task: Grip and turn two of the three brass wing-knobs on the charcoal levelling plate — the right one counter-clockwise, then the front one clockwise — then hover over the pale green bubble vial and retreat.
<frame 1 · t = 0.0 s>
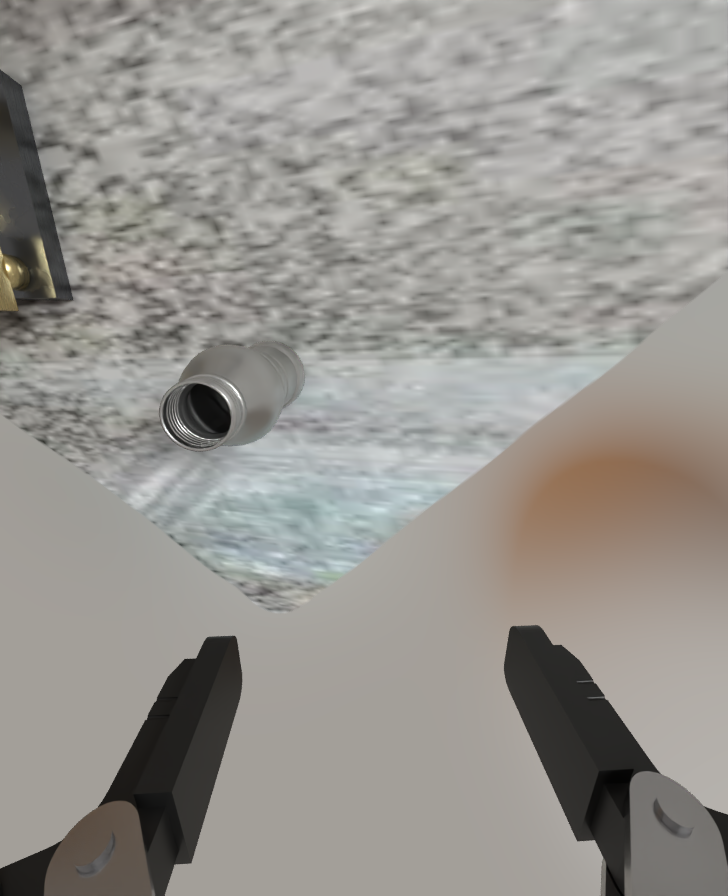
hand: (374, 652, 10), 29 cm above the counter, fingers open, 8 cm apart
plastic bottle: (276, 373, 36), on the counter
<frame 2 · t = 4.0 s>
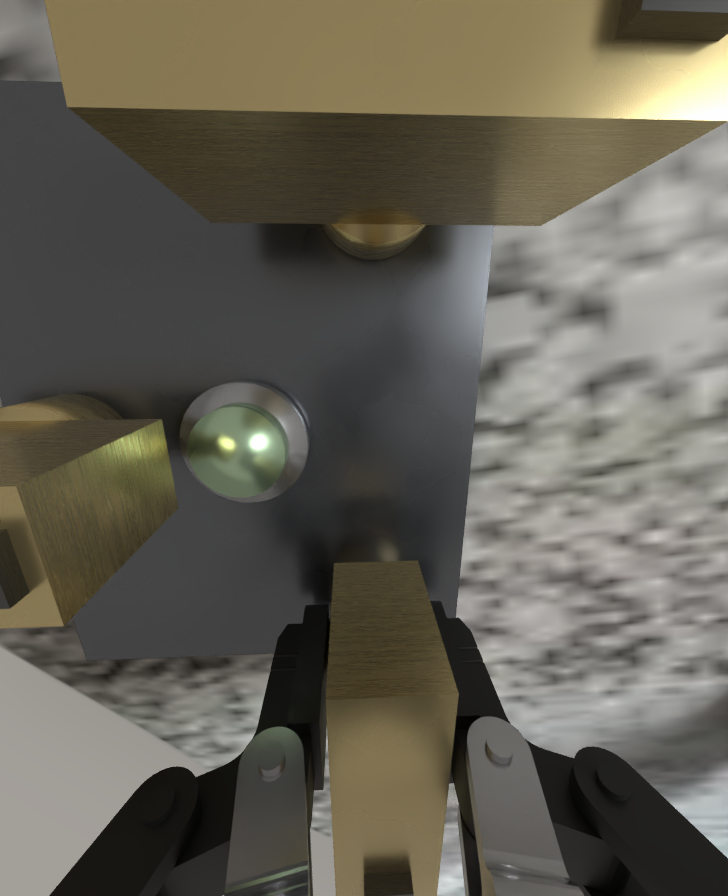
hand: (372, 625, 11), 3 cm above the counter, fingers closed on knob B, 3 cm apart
knob B: (378, 690, 9), point 5 cm above the counter, hinge at 0.0°, touching gripper
levelling plate: (265, 422, 12), on the counter
knob A: (385, 123, 5), point 5 cm above the counter, hinge at 0.0°
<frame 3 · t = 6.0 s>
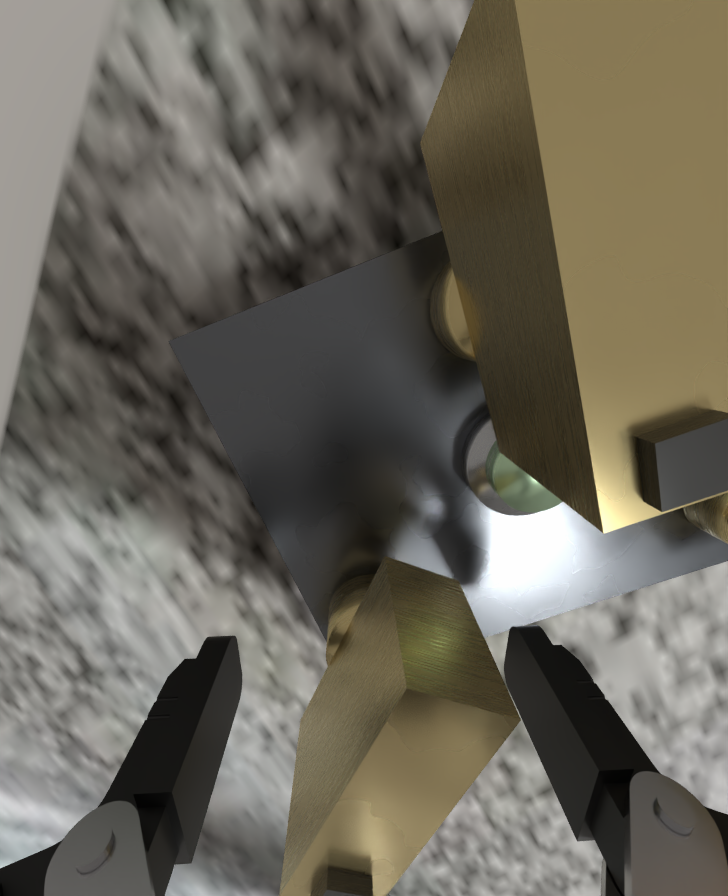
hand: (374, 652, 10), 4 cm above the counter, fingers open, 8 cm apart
knob B: (377, 689, 9), point 5 cm above the counter, hinge at 46.7°
knob C: (541, 293, 6), point 5 cm above the counter, hinge at 0.0°
levelling plate: (491, 437, 13), on the counter
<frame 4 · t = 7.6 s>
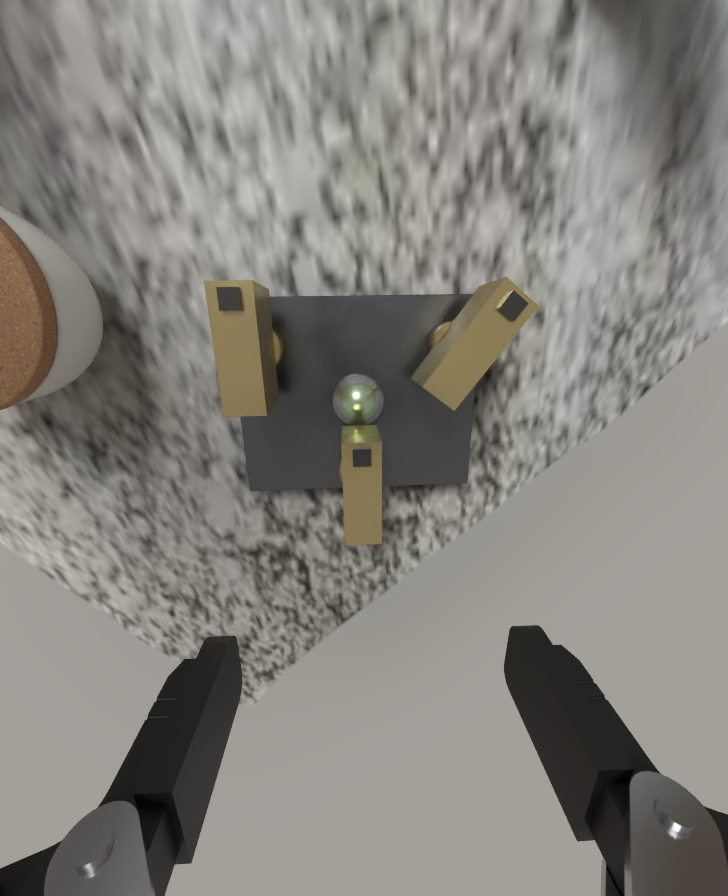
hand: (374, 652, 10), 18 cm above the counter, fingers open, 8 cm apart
knob B: (462, 345, 20), point 5 cm above the counter, hinge at 53.1°
lidded jar: (54, 311, 23), on the counter
knob C: (360, 478, 22), point 5 cm above the counter, hinge at 0.0°
levelling plate: (357, 394, 26), on the counter
knob A: (250, 349, 20), point 5 cm above the counter, hinge at 0.0°
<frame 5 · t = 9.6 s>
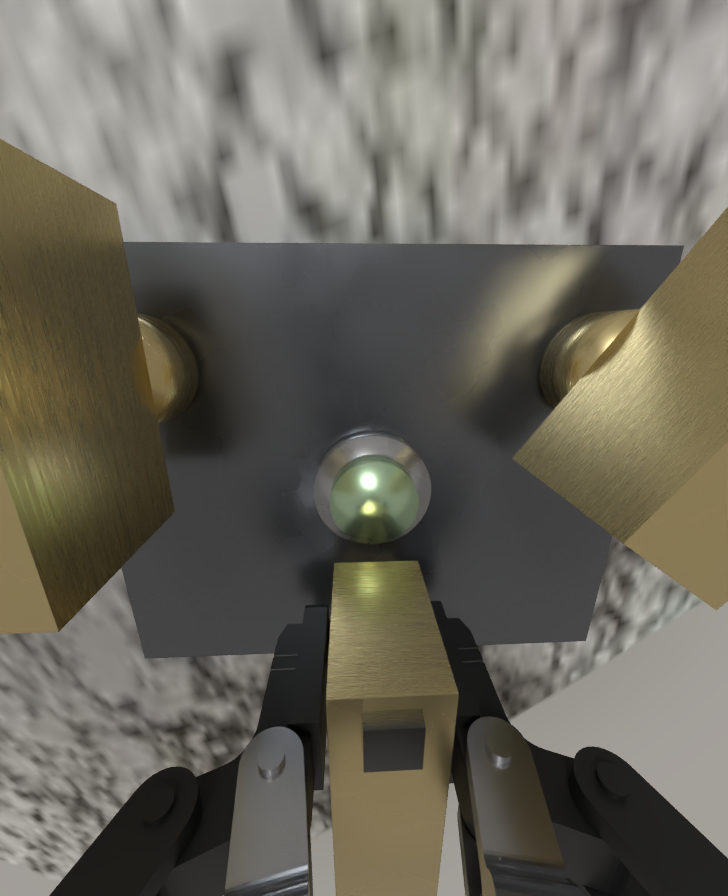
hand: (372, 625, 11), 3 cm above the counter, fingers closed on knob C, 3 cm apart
knob B: (684, 379, 7), point 5 cm above the counter, hinge at 54.9°
knob C: (378, 690, 9), point 5 cm above the counter, hinge at 0.0°, touching gripper
levelling plate: (367, 462, 13), on the counter
knob A: (57, 385, 6), point 5 cm above the counter, hinge at 0.0°
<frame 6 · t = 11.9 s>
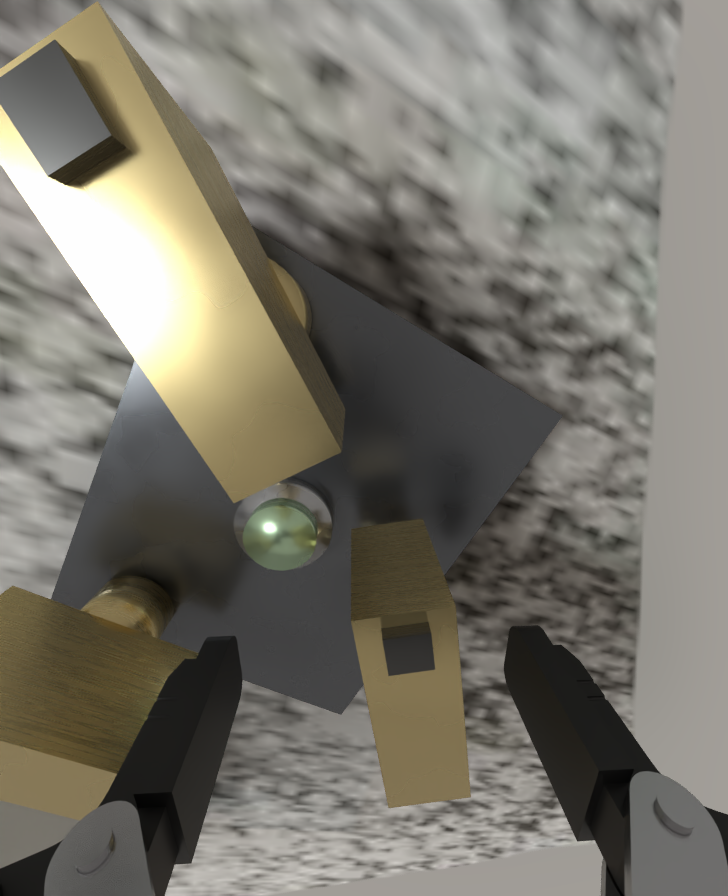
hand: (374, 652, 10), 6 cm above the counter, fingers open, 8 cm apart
knob B: (233, 312, 8), point 5 cm above the counter, hinge at 55.2°
lidded jar: (35, 739, 19), on the counter
knob C: (403, 632, 11), point 5 cm above the counter, hinge at -52.5°
levelling plate: (294, 495, 15), on the counter
knob A: (82, 674, 11), point 5 cm above the counter, hinge at 0.0°
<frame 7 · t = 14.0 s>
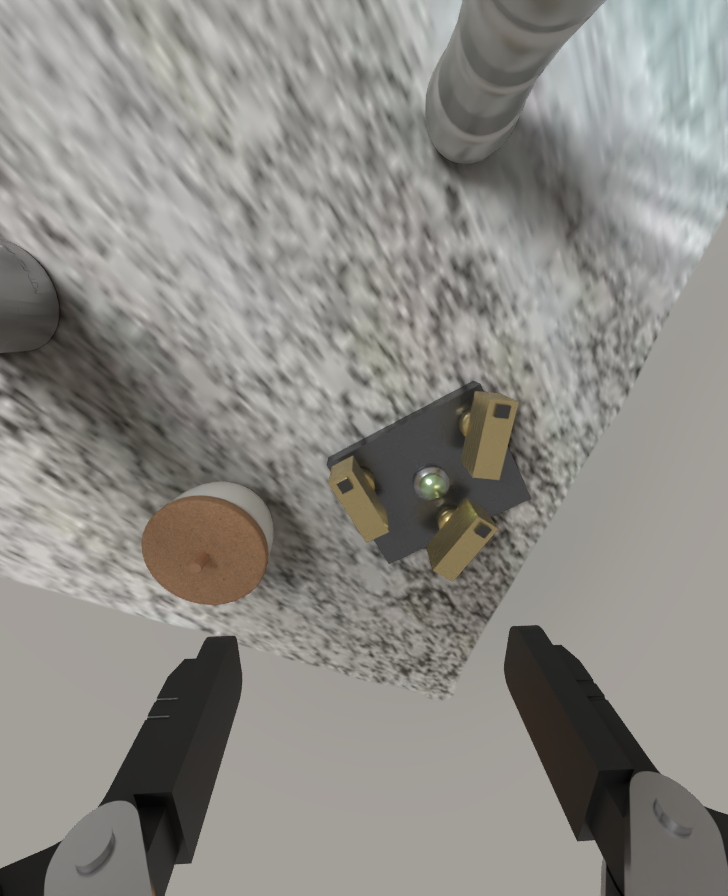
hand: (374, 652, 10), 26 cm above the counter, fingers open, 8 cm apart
knob B: (483, 431, 30), point 5 cm above the counter, hinge at 55.2°
lidded jar: (235, 511, 38), on the counter
plastic bottle: (462, 125, 27), on the counter
knob C: (457, 533, 33), point 5 cm above the counter, hinge at -61.5°
levelling plate: (427, 473, 36), on the counter
knob A: (359, 494, 31), point 5 cm above the counter, hinge at 0.0°
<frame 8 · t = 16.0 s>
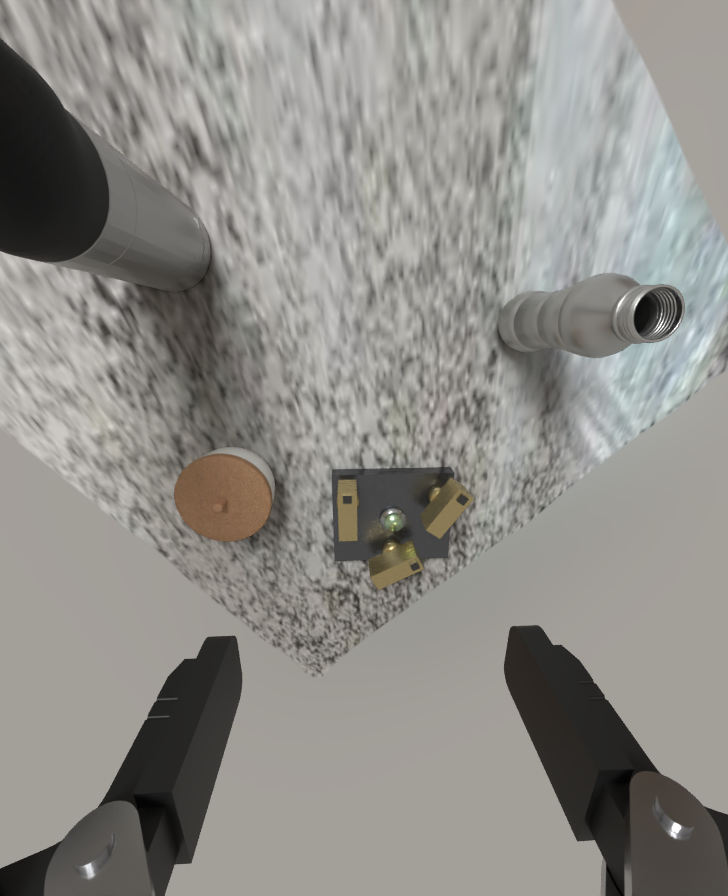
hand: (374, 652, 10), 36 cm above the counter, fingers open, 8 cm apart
knob B: (443, 504, 44), point 5 cm above the counter, hinge at 55.2°
lidded jar: (242, 474, 47), on the counter
plastic bottle: (518, 323, 42), on the counter
knob C: (394, 560, 46), point 5 cm above the counter, hinge at -63.0°
levelling plate: (390, 511, 49), on the counter
knob A: (347, 506, 43), point 5 cm above the counter, hinge at 0.0°
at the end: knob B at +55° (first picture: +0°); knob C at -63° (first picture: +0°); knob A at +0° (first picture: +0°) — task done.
